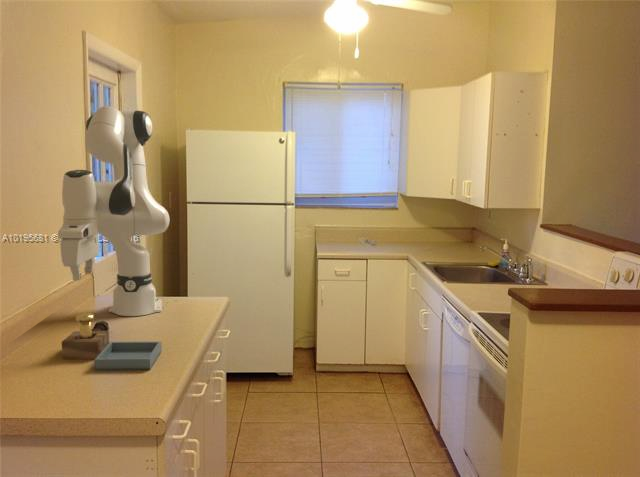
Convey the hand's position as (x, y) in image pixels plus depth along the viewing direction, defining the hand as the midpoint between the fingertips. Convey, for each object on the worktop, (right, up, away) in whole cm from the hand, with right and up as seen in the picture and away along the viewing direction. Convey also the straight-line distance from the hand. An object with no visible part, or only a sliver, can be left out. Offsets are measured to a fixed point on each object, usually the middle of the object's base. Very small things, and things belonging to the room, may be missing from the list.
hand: (83, 276), depth 164 cm
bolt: (-2, -21, +17) cm, 27 cm away
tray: (+14, -23, -2) cm, 27 cm away
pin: (0, -22, +3) cm, 23 cm away
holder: (0, -22, +3) cm, 23 cm away
